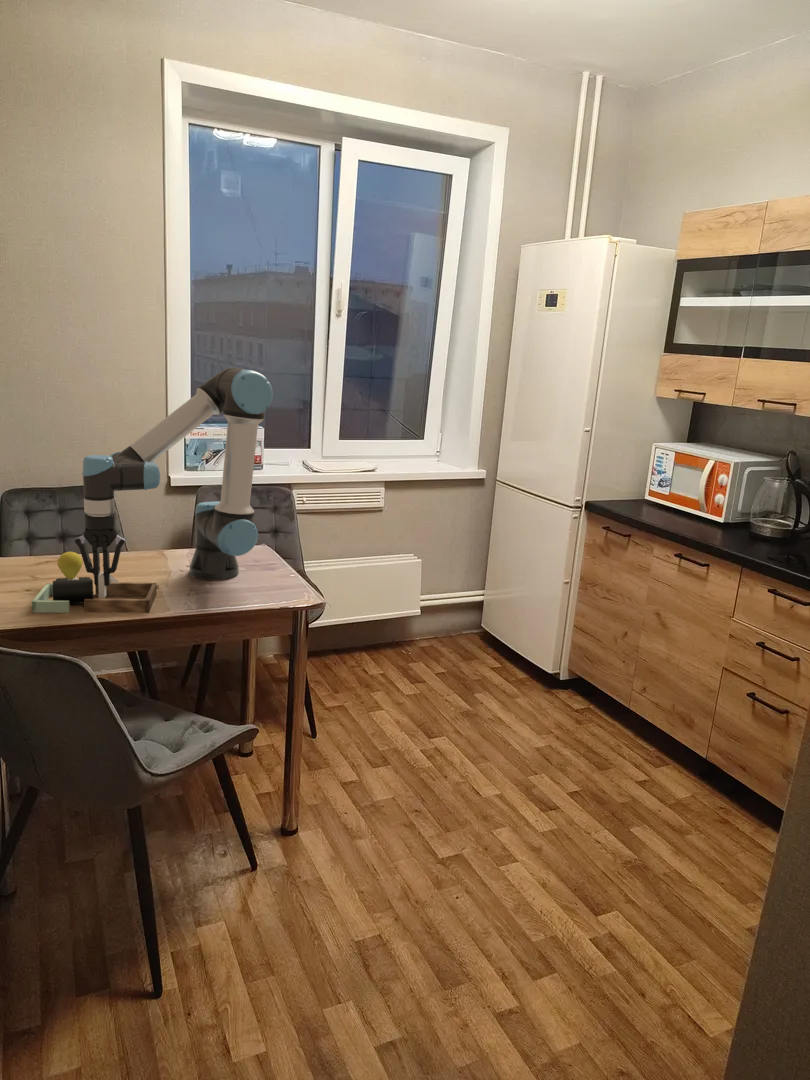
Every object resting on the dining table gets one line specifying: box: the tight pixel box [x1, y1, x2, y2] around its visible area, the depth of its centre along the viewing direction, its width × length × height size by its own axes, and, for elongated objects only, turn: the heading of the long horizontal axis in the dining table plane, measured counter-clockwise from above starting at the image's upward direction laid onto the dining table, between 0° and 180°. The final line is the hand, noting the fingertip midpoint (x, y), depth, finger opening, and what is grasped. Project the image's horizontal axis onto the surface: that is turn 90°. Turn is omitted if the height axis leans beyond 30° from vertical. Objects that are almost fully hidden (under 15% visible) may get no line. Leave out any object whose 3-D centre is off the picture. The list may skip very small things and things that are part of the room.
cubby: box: [83, 581, 158, 614], centre depth 211 cm, size 16×15×4 cm
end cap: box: [52, 576, 94, 605], centre depth 209 cm, size 10×7×7 cm
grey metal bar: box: [110, 573, 119, 582], centre depth 227 cm, size 10×2×2 cm, turn 38°
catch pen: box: [31, 582, 71, 614], centre depth 208 cm, size 9×15×3 cm, turn 10°
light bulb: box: [57, 551, 84, 580], centre depth 222 cm, size 7×7×10 cm
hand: (102, 596), depth 210 cm, fingers closed
